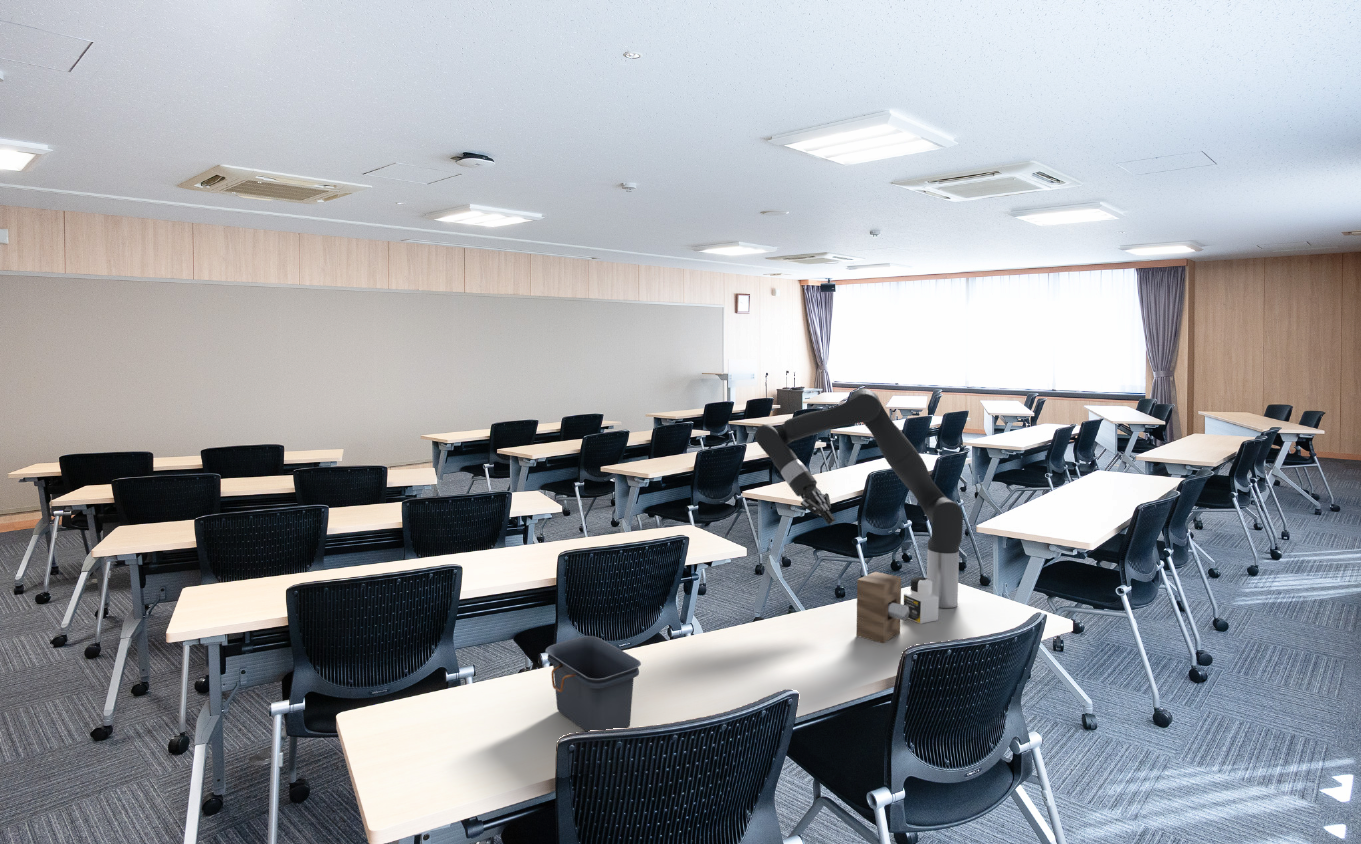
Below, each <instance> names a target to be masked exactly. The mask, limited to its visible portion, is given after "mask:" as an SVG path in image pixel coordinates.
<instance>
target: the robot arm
mask: <svg viewBox="0 0 1361 844" xmlns="http://www.w3.org/2000/svg"><path fill="white" fill-rule="evenodd" d="M861 423H863V425H864V426H865V427H866V428H867V429H868V431H869V432H870V434H871V435H872V436H873V438H874V441H875V442H876V444H877V446H878V448H879V450H880V452H881V454H882V456H883V457H884V459H885V461H886V462H887V464H888V465H889V466H890V468H891V470H893V472H894V473H895V474H896V475H897V477H898V478H899V479H900V480H901V482H902V483H903V484H904V485H905V487H907V489H908V491H910V492H911V493H912V494H913V496H914V497H915V499H916V501H917V502H918V504H919V506H920V507H921V509H922V510H923V513H924V515H925V516H926V519H928V521H929V522H930V523H931V537H930V538H929V539H928V540H927V557H926V558H927V564H926V567H927V569H926V578H927V579H929V580H931V581H932V595H935V596H937V597H938V598H939V602H938V609H939V608H940V609H952V608H956V607H958V602H959V601H958V600H959V599H958V598H959V597H958V596H959V570H960V569H959V567H960V566H959V565H960V564H959V563H960V560H959V559H960V545H961V543H962V540H963V526H964V525H963V524H964V515H963V514H964V513H963V510H962V508H961V507H960V505H959V504H958V503H956V502H955V501H953V500H951V499H949V498H948V497H947V496H946V495H945V494H944V493H943V492H942V491H941V489H940V488H939V487H938V486H937V485H936V483H935V482H934V481H933V479H932V477H931V475H930V473H929V470H928V468H927V465H926V463H925V461H924V459H923V458H922V456H921V455H920V454H919V452H918V451H917V449H916V448H915V447H914V445H913V444H912V443H911V441H910V440H909V439H908V438H907V436H906V435H905V434H904V433H903V432H902V430H901V429H899V427H898V426H897V425H896V423H894V422H893V421H892V419H891V417H890V416H889V414H888V413H887V411H886V409H885V408H884V406H883V404H882V403H881V400H880V398H879V395H877V393H876V392H874V391H873V390H870V389H869V388H859V389H857V390H855V391H854V392H853V393H852V394H851V395H850V398H849V400H848V401H846V402H843V403H842V404H839V405H836V406H834V407H830V408H827V409H823V410H822V409H821V410H816V411H815V410H814V411H810V412H806V413H803V414H800V415H796V416H794V417H791V418H789V419H787V420H785V421H784V423H783V424H782V425H779V426H776V427H774V426H772V425H770V424H762V425H760V426H758V427H756V430H755V433H754V439H755V442H757V445H759V447H760V448H761V449H762V450H763V452H764V453H765V454H766V455H767V456H768V457H769V459H770V460H771V461H772V463H773V465H774V467H776V468H777V470H778V471H779V473H780V475H781V476H782V477H783V479H784V481H785V482H786V483H787V485H788V486H789V488H790V489H791V490H792V492H793V493H794V494H795V496H796V497H800V498H801V499H802V501H801V502H800V505H801V506H802V507H803V508H804V509H806V510H808V511H809V512H811V513H812V514H814V515H819V516H821V517H822V519H823V520H824V521H825V522H826V523H827V525H832V524H834V523H835V522H836V518H835V517H834V515H833V514H832V513H831V511H830V509H831V508H832V505H831V499H830V495H829V493H827V492H826V493H822V491H821V490H820V489H819V488H818V487H817V484H818V483H817V482H818V481H817V480H816V478H815V477H814V476H813V474H812V473H811V471H809V469H808V468H807V467H806V465H805V464H804V463H803V462H802V461H801V460H800V459H799V458H798V456H797V455H796V453H795V452H794V451H793V450H792V449H791V448H790V447H789V446H788V445H789V444H790V443H792V442H794V441H797V440H801V439H803V438H807V437H810V436H813V435H815V434H819V433H821V432H825V431H828V430H831V429H836V428H839V427H842V426H848V425H855V424H861Z"/></svg>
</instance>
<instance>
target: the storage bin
mask: <svg viewBox="0 0 1361 844" xmlns="http://www.w3.org/2000/svg"><path fill="white" fill-rule="evenodd" d="M545 653H546V654H548V655H547V661H548V662H549V663H551V665H552V667H553V669H552V671H551V683H552V684H551V685H552V688H553V689H554V690H555V699H556V707H557V708H556V709H557V711H559V713H560V714H563V715H564V716H565V717H566V718H568V719H569V720H571V721H572V722H574V724H576V725H577V726H579V727H580V728H582V729H583V730H584V731H585V732H587V731H590V730H606V729H613V728H626V729H627V727H628V728H629V727H630V725H631V719H632V718H631V716H632V706H633V705H632V704H633V703H632V702H633V691H634V690H633V689H634V680H635V679H634V678H637V677H638V676H639V674H640V670H639V667H640V666H641V665H642V662H641V661H640V660H639V659H637V658H635V657H633V656H632V655H630V654H628V653H627V652H626V651H624V650H622V649H620V648H618V647H616V646H614V645H613V644H611V643H609V642H608V641H605V640H603V639H602V638H600V637H598V636H594V635H584V636H580V637H575V638H572V639H569V640H565V641H561V642H558V643H554V644H551V645H549V646H548V647H546V648H545Z"/></svg>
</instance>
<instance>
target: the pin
mask: <svg viewBox="0 0 1361 844" xmlns="http://www.w3.org/2000/svg"><path fill="white" fill-rule="evenodd" d="M888 616H889V617H893V618H897V619H900V621H907V620H908V616H909V607H908V606H906V605H904V604H902V603H901V604H898V603H894V602H889V603H888Z"/></svg>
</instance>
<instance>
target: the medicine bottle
mask: <svg viewBox="0 0 1361 844" xmlns="http://www.w3.org/2000/svg"><path fill="white" fill-rule="evenodd" d="M938 602H939V598H938V597H937V596H935V595H932V581H931V580H929V579H927V577H924V576H923V577H922V576H918V577H917V576H916V577H913V578H911V579H910V592H905V593H904V594H903V605H906V606H908V607H909V616H908V618H907V620H908V619H909V620H911V621H913V622H915V623H917V624H921V625H922V624H926V623H931V622H937V621H938V620H939V607H938Z"/></svg>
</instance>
